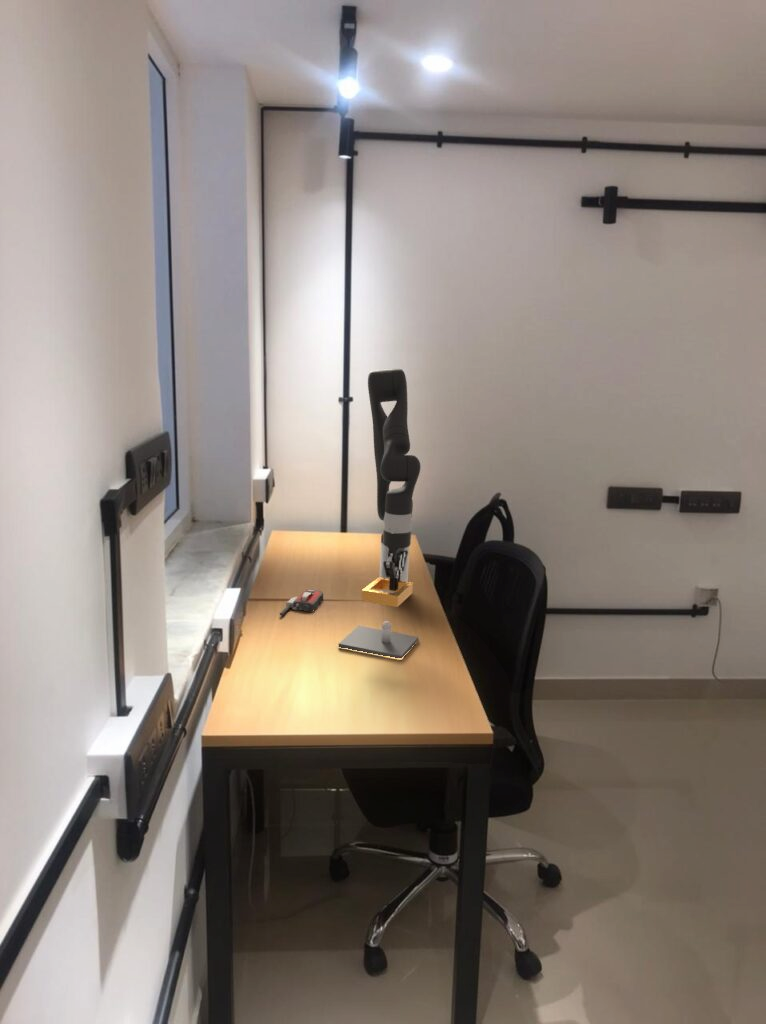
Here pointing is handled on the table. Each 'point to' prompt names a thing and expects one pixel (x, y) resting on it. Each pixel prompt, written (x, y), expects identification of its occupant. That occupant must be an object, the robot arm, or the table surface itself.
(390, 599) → the link ring
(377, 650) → the plate
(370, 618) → the table surface
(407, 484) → the robot arm
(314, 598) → the walkie-talkie
